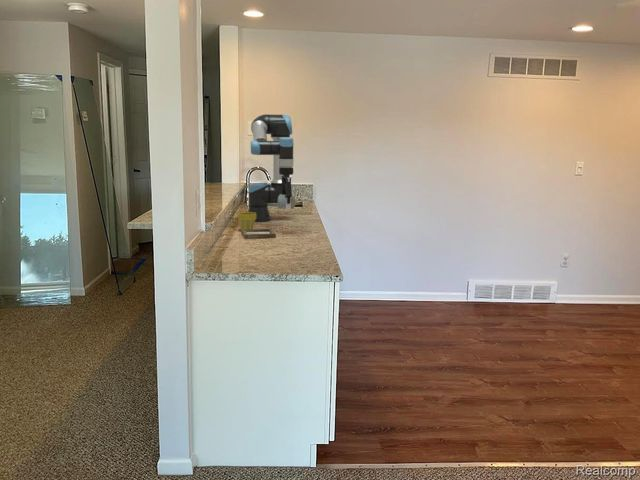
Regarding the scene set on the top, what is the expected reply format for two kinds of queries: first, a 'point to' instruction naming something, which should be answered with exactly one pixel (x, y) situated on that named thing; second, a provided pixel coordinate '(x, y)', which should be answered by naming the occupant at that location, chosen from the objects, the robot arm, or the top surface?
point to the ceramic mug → (283, 202)
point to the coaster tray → (258, 233)
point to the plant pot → (246, 220)
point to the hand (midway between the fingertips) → (286, 208)
